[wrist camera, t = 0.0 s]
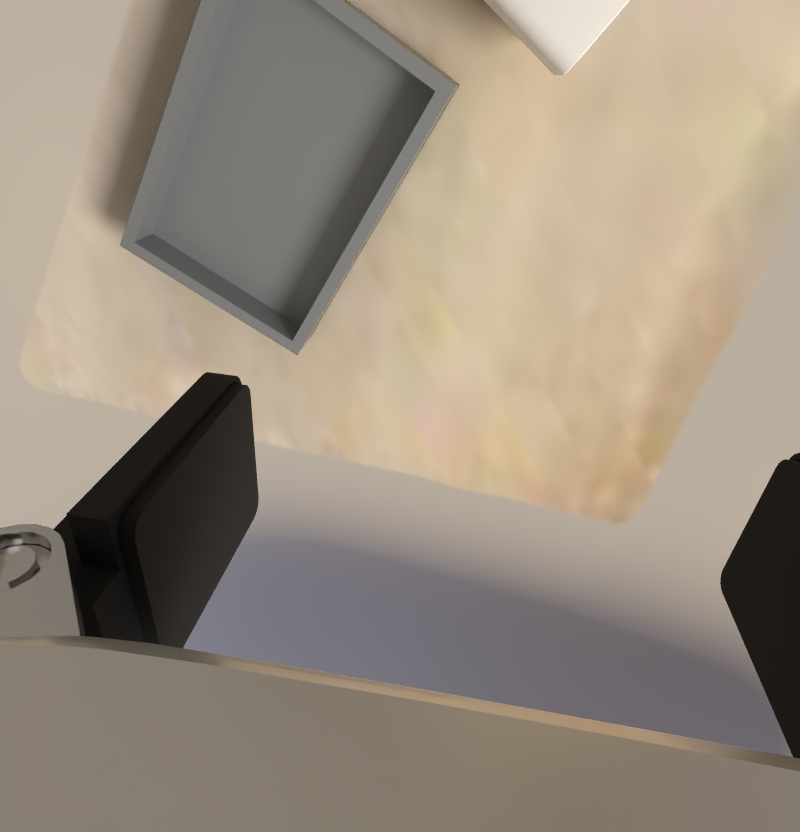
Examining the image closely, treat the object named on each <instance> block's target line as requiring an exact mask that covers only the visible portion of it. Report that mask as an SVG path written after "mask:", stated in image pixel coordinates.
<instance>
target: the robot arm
mask: <svg viewBox="0 0 800 832" xmlns="http://www.w3.org/2000/svg"><path fill="white" fill-rule="evenodd" d="M257 507H258V486H257V473H256V460H255V447H254V434H253V421H252V408H251V395H250V389H249V387H248V386H247V385H242V384H241V381H240V378H238V377H237V376H232V375H224V374H217V373H210V372H206V373H205V374H203V375H202V376H201V377H200V378H199V379H198V380H197V381H196V382H195V383H194V384H193V385H192V386H191V387H190V388H189V389H188V390H187V392H186V393H185V394H184V395H183V396H182V397H181V398H180V399H179V400H178V401H177V402H176V403H175V404H174V405H173V406H172V407H171V408H170V409H169V410H168V411H167V412H166V413H165V414H164V415H163V416H162V417H161V418H160V419H159V420H158V421H157V422H156V423H155V424H154V425H153V426H152V427H151V428H150V429H149V431H147V433H146V434H144V435H143V436H142V437H141V438H140V440H139V441H138V442H137V443H136V444H135V445H134V446H133V447H132V448H131V449H130V450H129V451H128V452H127V453H126V454H125V455H124V456H123V457H122V458H121V459H120V460H119V461H118V462H117V463H116V464H115V465H114V466H113V467H112V468H111V469H110V470H109V471H108V472H107V473H106V474H105V475H104V476H103V477H102V478H101V479H100V480H99V481H98V482H97V483H96V484H95V485H94V486H93V488H92V489H91V490H90V491H89V492H88V493H87V494H86V495H85V496H84V497H83V498H82V499H81V500H80V501H79V502H78V503H77V504H76V505H75V506H74V507H73V508H72V509H71V510H70V511H69V512H68V513H67V516H66V517H65V518H64V519H63V520H62V521H61V522H60V523H59V524H58V525H57V526H56V527H55V528H54V529H51V528H49V527H45V526H41V525H36V524H30V525H29V524H24V525H23V524H21V525H14V526H9V527H4V528H0V832H800V453H798V454H795V455H793V456H792V457H791V458H790V459H789V460H782V461H781V462H780V463H779V464H778V466H777V467H776V469H775V471H774V473H773V475H772V477H771V478H770V480H769V482H768V484H767V486H766V488H765V490H764V492H763V494H762V496H761V498H760V500H759V502H758V503H757V505H756V507H755V509H754V511H753V513H752V515H751V517H750V519H749V521H748V523H747V524H746V526H745V528H744V530H743V532H742V534H741V536H740V538H739V540H738V542H737V544H736V545H735V547H734V549H733V551H732V553H731V555H730V557H729V559H728V561H727V563H726V565H725V567H724V568H723V571H722V574H721V589H722V593H723V595H724V597H725V600H726V602H727V604H728V607H729V609H730V611H731V614H732V616H733V618H734V620H735V623H736V625H737V627H738V630H739V632H740V634H741V637H742V639H743V641H744V644H745V646H746V648H747V650H748V653H749V655H750V658H751V660H752V662H753V665H754V667H755V669H756V672H757V674H758V676H759V678H760V681H761V683H762V685H763V688H764V690H765V692H766V695H767V697H768V699H769V702H770V704H771V706H772V709H773V711H774V713H775V716H776V718H777V720H778V723H779V725H780V727H781V730H782V732H783V734H784V737H785V739H786V741H787V744H788V746H789V748H790V750H791V753H792V755H793V757H789V756H784V755H778V754H773V753H767V752H762V751H757V750H752V749H746V748H741V747H735V746H730V745H725V744H720V743H714V742H708V741H703V740H698V739H693V738H687V737H682V736H677V735H671V734H666V733H661V732H655V731H650V730H644V729H639V728H633V727H627V726H622V725H617V724H611V723H606V722H601V721H595V720H590V719H584V718H578V717H573V716H567V715H562V714H556V713H551V712H546V711H540V710H535V709H529V708H524V707H517V706H512V705H507V704H501V703H496V702H490V701H485V700H479V699H474V698H468V697H462V696H457V695H451V694H446V693H440V692H434V691H429V690H423V689H418V688H412V687H407V686H401V685H395V684H390V683H384V682H378V681H372V680H367V679H361V678H355V677H350V676H344V675H338V674H332V673H327V672H321V671H316V670H310V669H304V668H298V667H292V666H287V665H281V664H276V663H270V662H264V661H259V660H252V659H246V658H240V657H234V656H227V655H221V654H214V653H209V652H202V651H196V650H190V649H183V647H184V645H185V643H186V641H187V639H188V637H189V636H190V634H191V632H192V630H193V628H194V626H195V624H196V623H197V621H198V619H199V617H200V615H201V614H202V612H203V610H204V608H205V606H206V605H207V603H208V601H209V599H210V597H211V596H212V594H213V592H214V590H215V588H216V586H217V585H218V583H219V581H220V579H221V577H222V576H223V574H224V572H225V570H226V568H227V566H228V565H229V563H230V561H231V559H232V557H233V556H234V554H235V552H236V550H237V548H238V546H239V544H240V543H241V541H242V539H243V537H244V535H245V533H246V532H247V530H248V528H249V526H250V525H251V523H252V521H253V519H254V517H255V515H256V512H257Z"/></svg>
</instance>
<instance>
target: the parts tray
mask: <svg viewBox="0 0 800 832" xmlns="http://www.w3.org/2000/svg"><path fill="white" fill-rule="evenodd" d="M458 86H459V84H457V83H456V82H455V81H453V80H452V79H451V78H449V77H448V76H447V75H445V74H444V73H443V72H441V71H440V70H439V69H437V68H436V67H435V66H433V65H432V64H431V63H429V62H428V61H427V60H425V59H424V58H423V57H421V56H420V55H419V54H417V53H416V52H415V51H413V50H412V49H411V48H410V47H408V46H407V45H406V44H404V43H403V42H402V41H400V40H399V39H398V38H396V37H395V36H394V35H392V34H391V33H390V32H388V31H387V30H386V29H384V28H383V27H382V26H380V25H379V24H378V23H376V22H375V21H374V20H372V19H371V18H370V17H368V16H367V15H366V14H364V13H363V12H362V11H360V10H359V9H358V8H356V7H355V6H354V5H352V4H351V3H350V2H348V1H347V0H201V2H200V5H199V8H198V11H197V14H196V17H195V20H194V23H193V26H192V29H191V32H190V35H189V38H188V41H187V44H186V47H185V50H184V53H183V56H182V59H181V62H180V65H179V68H178V71H177V74H176V77H175V80H174V83H173V86H172V89H171V92H170V95H169V98H168V101H167V104H166V107H165V111H164V114H163V117H162V120H161V123H160V126H159V129H158V132H157V135H156V138H155V141H154V144H153V147H152V150H151V153H150V156H149V159H148V162H147V165H146V168H145V171H144V174H143V177H142V180H141V183H140V186H139V189H138V192H137V195H136V198H135V201H134V204H133V207H132V210H131V213H130V216H129V219H128V222H127V225H126V228H125V231H124V234H123V237H122V240H121V243H120V246H122V247H123V248H125V249H126V250H128V251H130V252H131V253H133V254H134V255H136V256H138V257H139V258H141V259H143V260H144V261H146V262H147V263H149V264H151V265H152V266H154V267H155V268H157V269H159V270H160V271H162V272H164V273H165V274H167V275H168V276H170V277H172V278H173V279H175V280H176V281H178V282H180V283H181V284H183V285H185V286H186V287H188V288H189V289H191V290H193V291H194V292H196V293H197V294H199V295H201V296H202V297H204V298H206V299H207V300H209V301H210V302H212V303H214V304H215V305H217V306H219V307H220V308H222V309H223V310H225V311H227V312H228V313H230V314H231V315H233V316H235V317H236V318H238V319H240V320H241V321H243V322H244V323H246V324H248V325H249V326H251V327H252V328H254V329H256V330H257V331H259V332H261V333H262V334H264V335H265V336H267V337H269V338H270V339H272V340H273V341H275V342H277V343H278V344H280V345H282V346H283V347H285V348H286V349H288V350H290V351H291V352H293V353H294V354H296V355H298V353H299V352H300V351H301V349H302V348H303V346H304V345H305V344H306V342H307V341H308V339H309V338H310V337H311V335H312V333H313V332H314V330H315V328H316V327H317V325H318V323H319V321H320V320H321V318H322V316H323V315H324V313H325V311H326V310H327V308H328V306H329V305H330V303H331V301H332V299H333V298H334V296H335V294H336V293H337V291H338V289H339V288H340V286H341V284H342V283H343V281H344V279H345V277H346V276H347V274H348V272H349V271H350V269H351V267H352V266H353V264H354V262H355V261H356V259H357V257H358V255H359V254H360V252H361V250H362V249H363V247H364V245H365V244H366V242H367V240H368V239H369V237H370V235H371V233H372V232H373V230H374V228H375V227H376V225H377V223H378V222H379V220H380V218H381V217H382V215H383V213H384V211H385V210H386V208H387V206H388V205H389V203H390V201H391V200H392V198H393V196H394V195H395V193H396V191H397V189H398V188H399V186H400V184H401V183H402V181H403V179H404V178H405V176H406V174H407V173H408V171H409V169H410V167H411V166H412V164H413V162H414V161H415V159H416V157H417V156H418V154H419V152H420V151H421V149H422V147H423V145H424V144H425V142H426V140H427V139H428V137H429V135H430V134H431V132H432V130H433V129H434V127H435V125H436V123H437V122H438V120H439V118H440V117H441V115H442V113H443V112H444V110H445V108H446V107H447V105H448V103H449V101H450V100H451V98H452V96H453V95H454V93H455V91H456V90H457V88H458Z"/></svg>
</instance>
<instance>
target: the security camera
mask: <svg viewBox="0 0 800 832" xmlns="http://www.w3.org/2000/svg"><path fill="white" fill-rule="evenodd" d="M484 1H485V2H486V3H487V5H488V6H489V7H490V8H491V9H492V10H493V11H494V12H495V13H496V14H497V15H498V16H499V17H500V18H501V19H502V20H503V22H504V23H505V24H506V25H507V26H508V27H509V28H510V29H511V30H512V31H513V32H514V33H515V34H516V35H517V36H518V37H519V39H520V40H521V41H522V42H523V43H524V44H525V45H526V46H527V47H528V48H529V49H530V50H531V51H532V52H533V53H534V54H535V56H536V57H537V58H538V59H539V60H540V61H541V62H542V63H543V64H544V65H545V66H546V67H547V68H548V69H549V70H550V71H551V73H552V74H553V75H564V74H566V73H567V72H568V71H569V70H570V69H571V68H572V67H573V65H574V64H575V63H576V62H577V61H578V60H579V59H580V58H581V57H582V56H583V55H584V54H585V52H586V51H587V50H588V49H589V48H590V47H591V45H592V44H593V43H594V42H595V41H596V40H597V38H598V37H599V36H600V35H601V34H602V33H603V31H604V30H605V29H606V28H607V27H608V25H609V24H610V23H611V22H612V21H613V20H614V18H615V17H616V16H617V15H618V14H619V13H620V11H621V10H622V9H623V8H624V7H625V6H626V4H627V3H628V2H629V1H630V0H484Z"/></svg>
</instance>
